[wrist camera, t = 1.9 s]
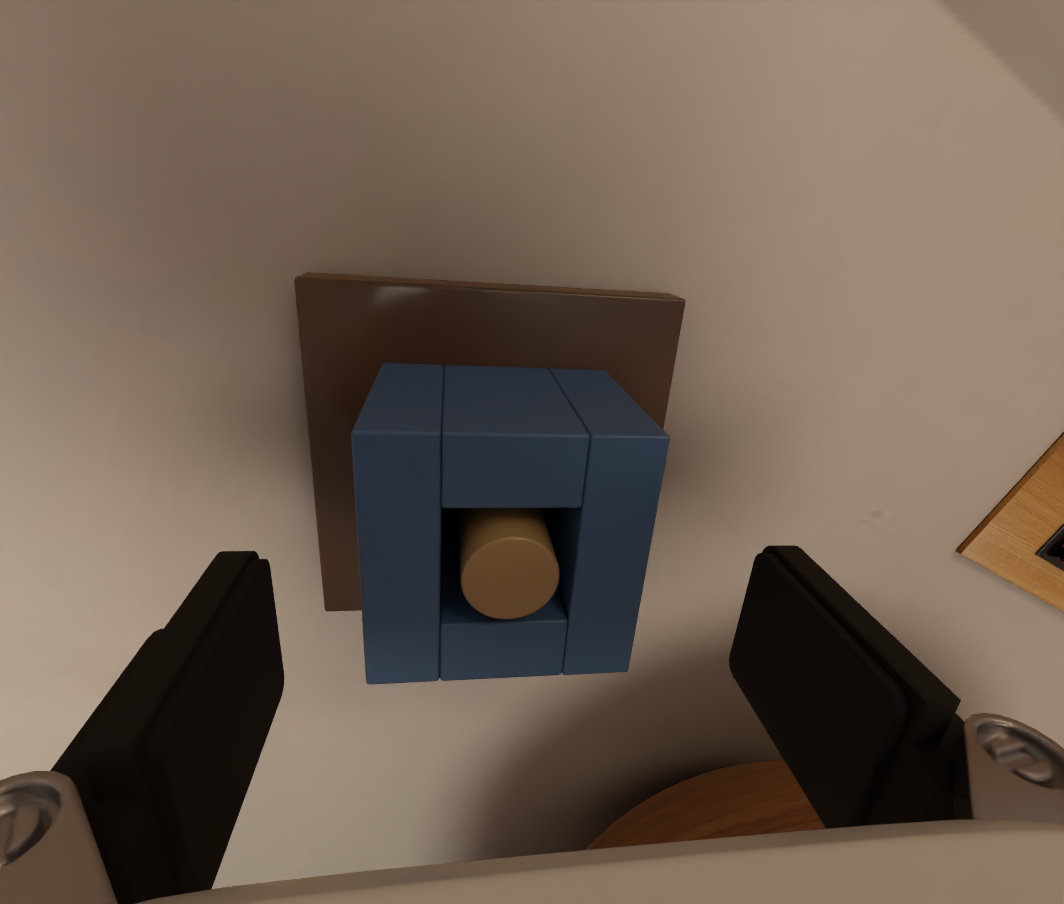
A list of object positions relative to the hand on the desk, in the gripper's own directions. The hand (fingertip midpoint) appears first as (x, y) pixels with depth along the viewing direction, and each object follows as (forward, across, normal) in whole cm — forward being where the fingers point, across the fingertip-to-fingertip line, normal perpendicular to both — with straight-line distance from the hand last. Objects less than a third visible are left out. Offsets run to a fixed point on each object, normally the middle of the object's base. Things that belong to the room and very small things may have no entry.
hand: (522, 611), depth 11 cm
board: (+8, -25, +3) cm, 26 cm away
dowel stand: (+7, 0, 0) cm, 7 cm away
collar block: (+6, 0, 0) cm, 6 cm away
